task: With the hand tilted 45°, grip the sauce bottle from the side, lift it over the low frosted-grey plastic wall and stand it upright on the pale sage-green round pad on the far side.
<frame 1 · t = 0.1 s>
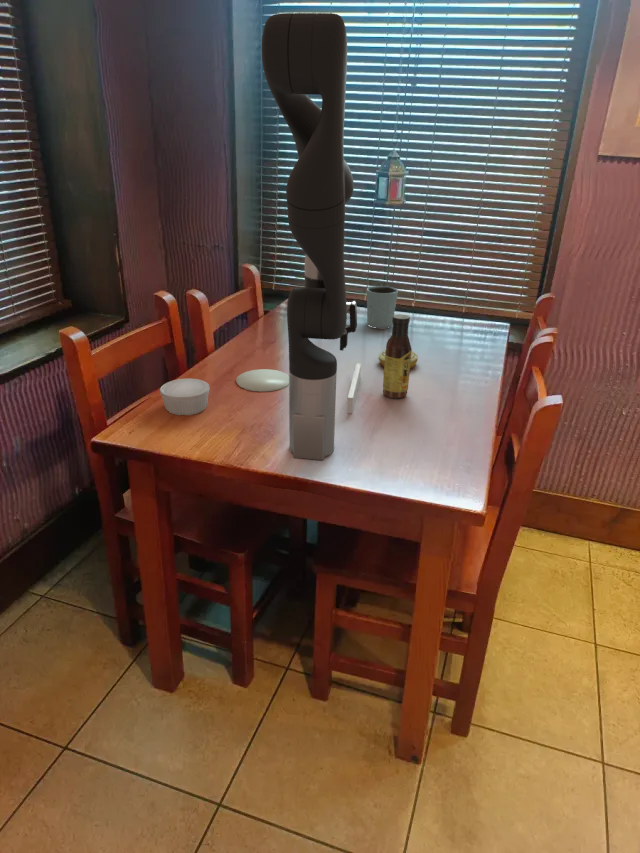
hand: (322, 347, 127), 17 cm above the table, tool pointing down, fingers open, 8 cm apart
sage pad: (263, 380, 155), on the table
decorated donut: (397, 365, 168), on the table
ramekin: (186, 408, 140), on the table
sauce bottle: (394, 395, 149), on the table
grey tapered cup: (379, 325, 199), on the table
frosted wall: (354, 394, 148), on the table
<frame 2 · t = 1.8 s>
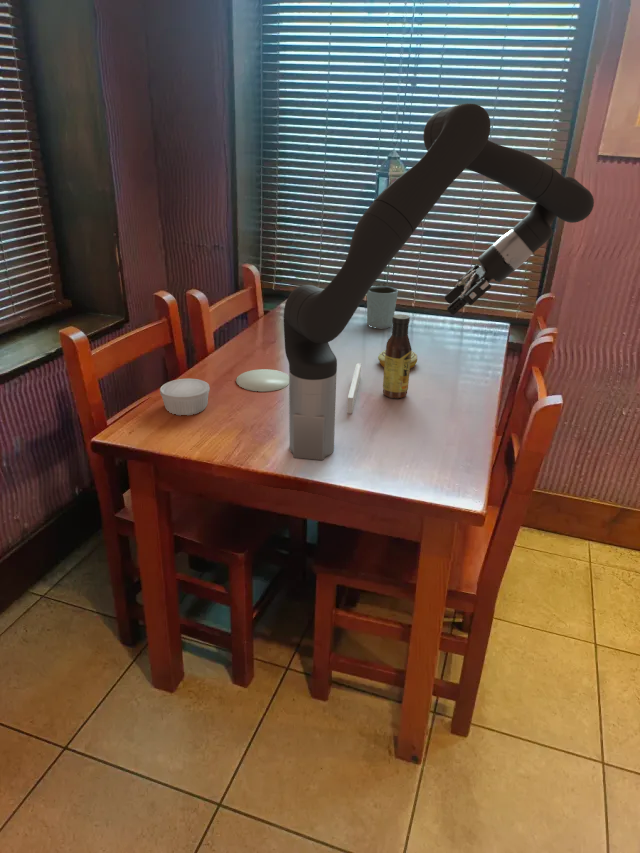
hand: (448, 306, 138), 23 cm above the table, tool tilted 45°, fingers open, 8 cm apart
nothing on the table moved.
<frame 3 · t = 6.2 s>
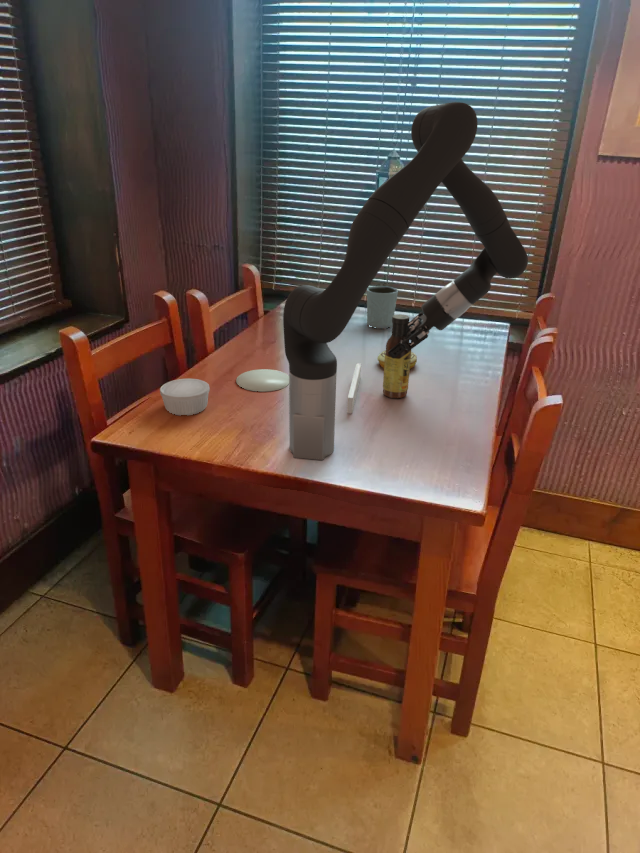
hand: (391, 350, 144), 11 cm above the table, tool tilted 45°, fingers closed on sauce bottle, 6 cm apart
sauce bottle: (394, 394, 149), on the table, touching gripper
everything else where it was.
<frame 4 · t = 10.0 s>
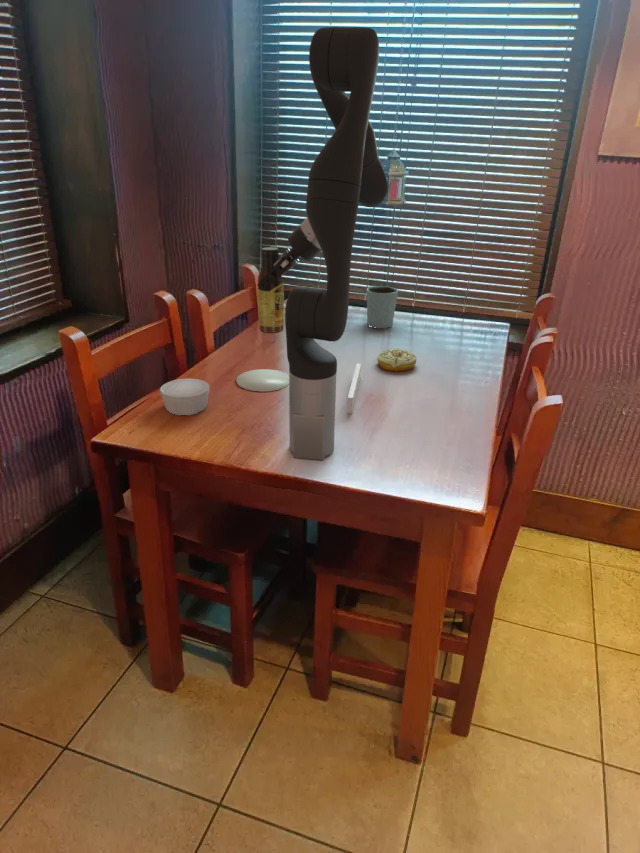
hand: (263, 284, 143), 25 cm above the table, tool tilted 45°, fingers closed on sauce bottle, 6 cm apart
sauce bottle: (271, 331, 148), point 14 cm above the table, touching gripper
when the fingers open (13 cm above the table, at t = 14.1 s): sauce bottle drops 1 cm, resting on sage pad.
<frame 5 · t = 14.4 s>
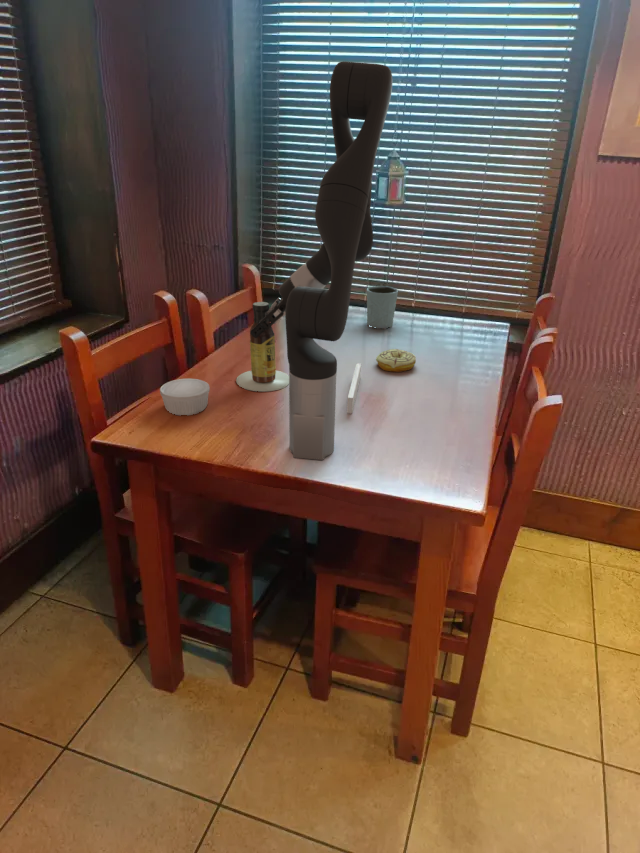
hand: (256, 329, 149), 14 cm above the table, tool tilted 45°, fingers open, 8 cm apart
sauce bottle: (264, 380, 155), resting on sage pad
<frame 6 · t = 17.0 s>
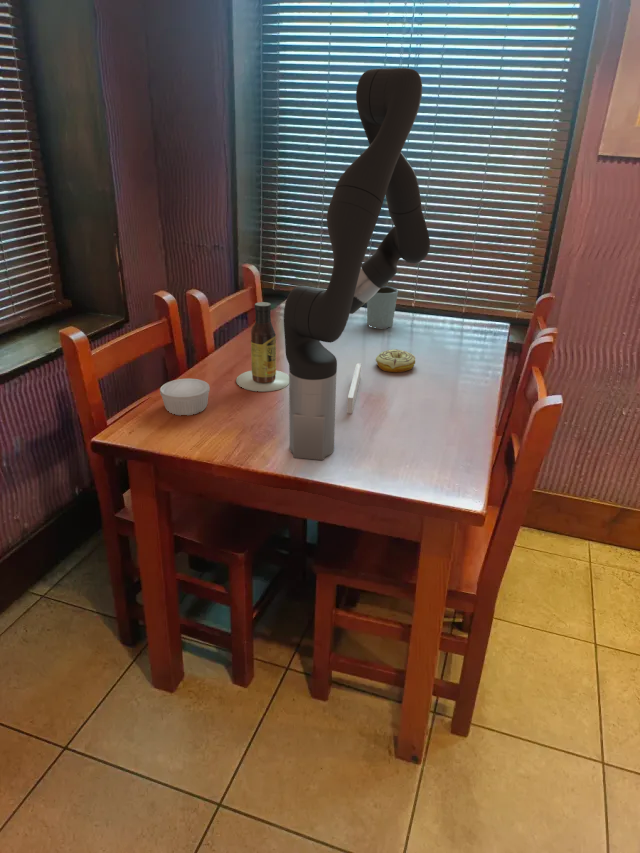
hand: (308, 333, 147), 14 cm above the table, tool tilted 45°, fingers open, 8 cm apart
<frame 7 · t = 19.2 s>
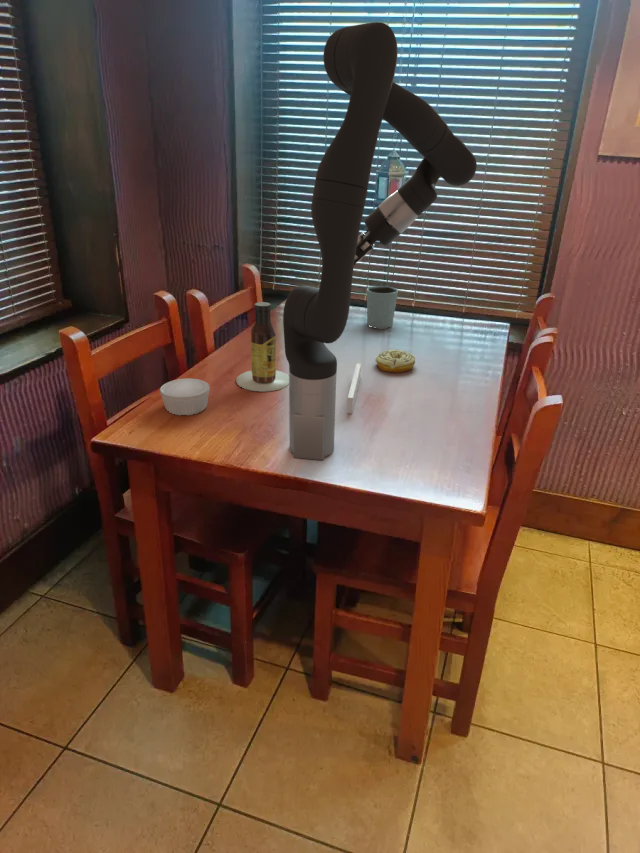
hand: (336, 269, 134), 31 cm above the table, tool tilted 45°, fingers open, 8 cm apart
at the end: sauce bottle inside the target area on the sage pad (0.2 cm from its centre), point 0.2 cm above the sage pad's base; sauce bottle tilted 0°; the gripper is holding nothing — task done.
